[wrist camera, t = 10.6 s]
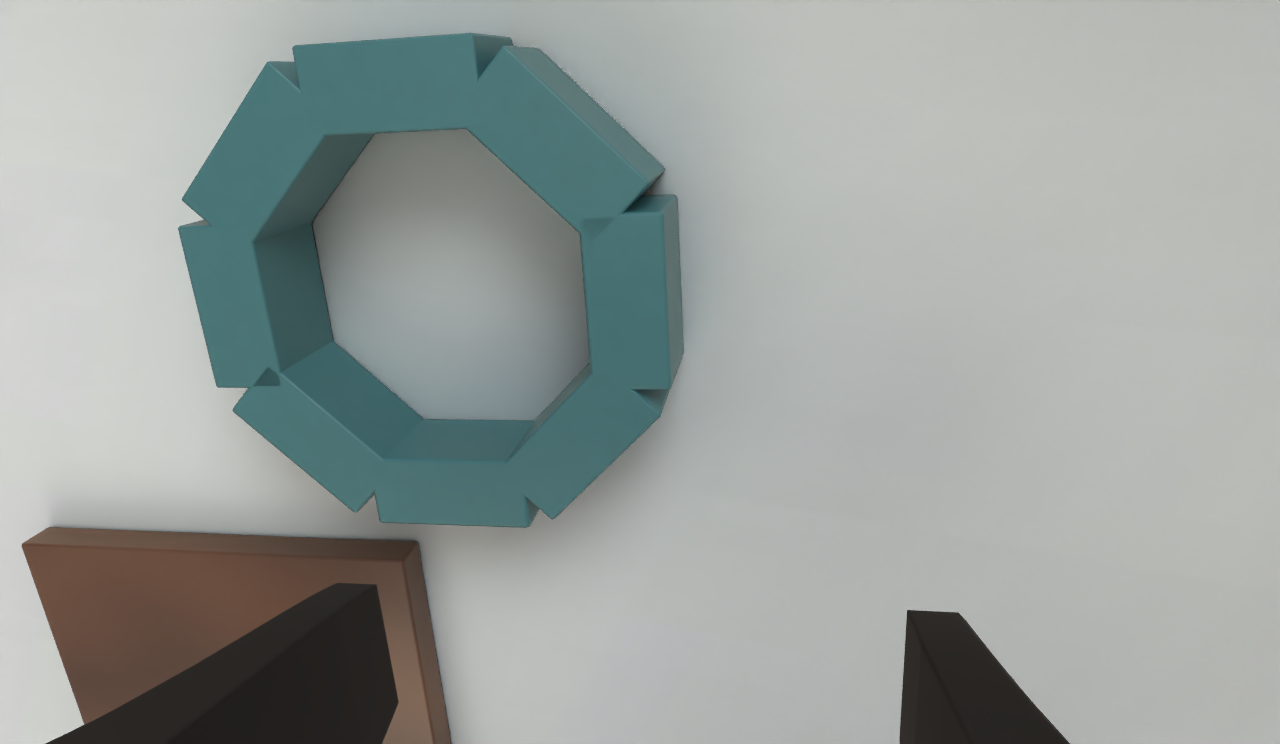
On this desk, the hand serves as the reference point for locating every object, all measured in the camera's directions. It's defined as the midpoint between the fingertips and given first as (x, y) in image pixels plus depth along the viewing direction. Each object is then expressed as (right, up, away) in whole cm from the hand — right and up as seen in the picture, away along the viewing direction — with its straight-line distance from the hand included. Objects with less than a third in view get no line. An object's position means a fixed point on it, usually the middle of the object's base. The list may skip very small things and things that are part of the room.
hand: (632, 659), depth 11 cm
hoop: (-4, +6, +9) cm, 11 cm away
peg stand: (-11, -6, +14) cm, 19 cm away
